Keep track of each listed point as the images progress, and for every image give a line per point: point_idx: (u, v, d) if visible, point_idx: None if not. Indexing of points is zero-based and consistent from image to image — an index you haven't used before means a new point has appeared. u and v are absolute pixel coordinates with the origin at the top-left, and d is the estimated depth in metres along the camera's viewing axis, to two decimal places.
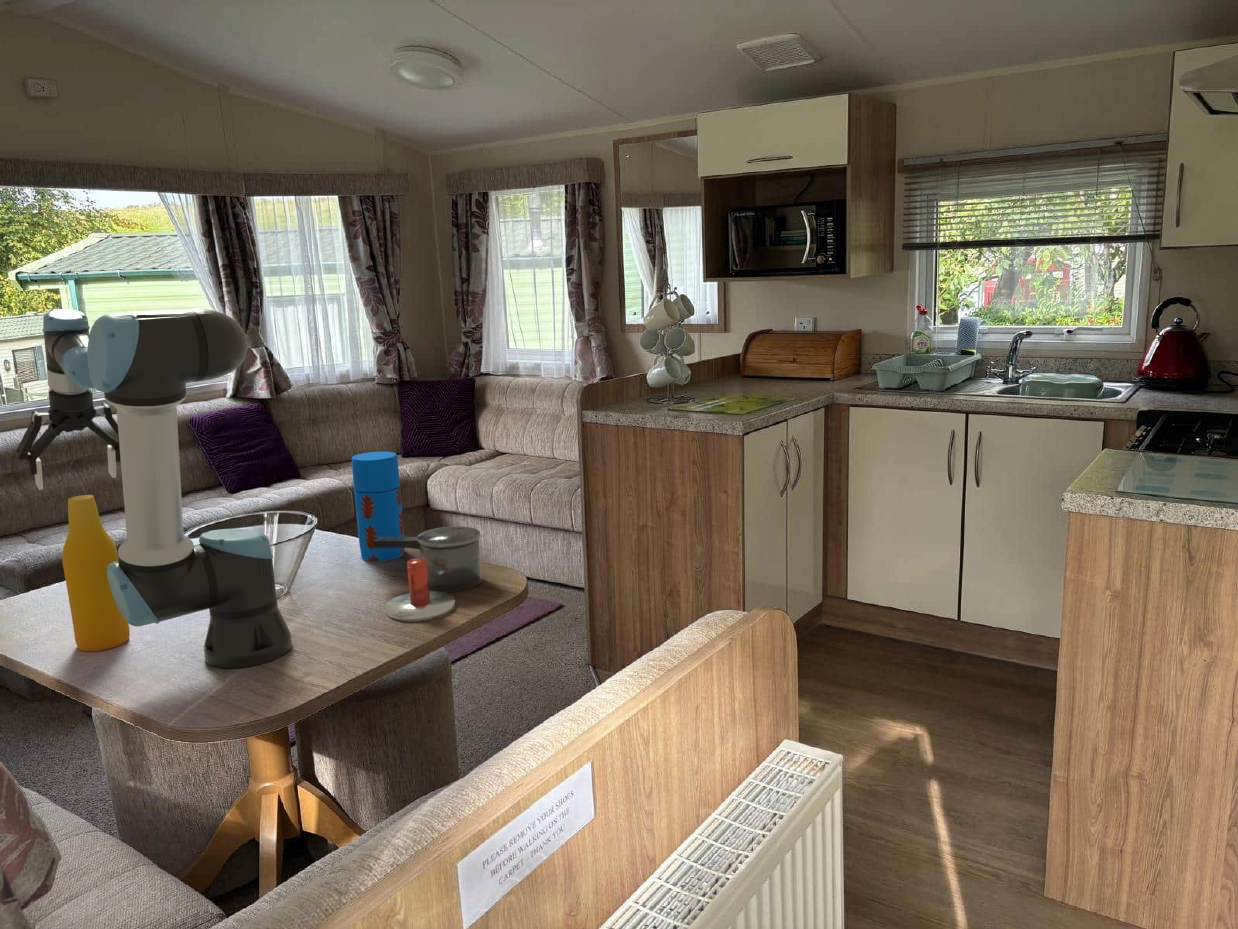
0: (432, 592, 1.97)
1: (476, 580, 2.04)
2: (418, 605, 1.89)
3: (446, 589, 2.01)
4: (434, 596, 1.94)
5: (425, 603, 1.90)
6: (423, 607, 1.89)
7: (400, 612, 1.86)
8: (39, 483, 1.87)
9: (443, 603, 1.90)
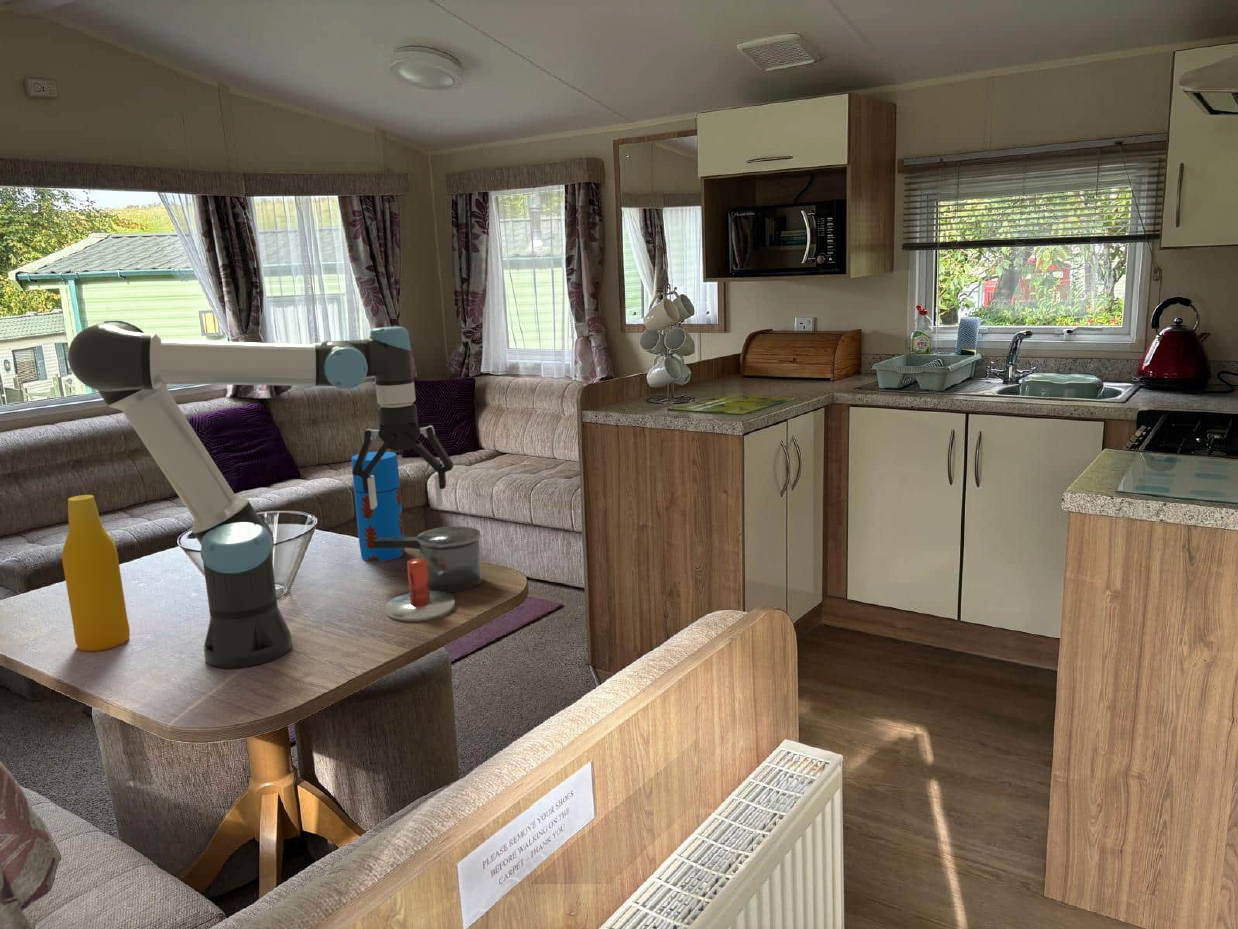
0: (432, 592, 1.97)
1: (476, 580, 2.04)
2: (418, 605, 1.89)
3: (446, 589, 2.01)
4: (434, 596, 1.94)
5: (425, 603, 1.90)
6: (423, 607, 1.89)
7: (400, 612, 1.86)
8: (370, 502, 1.89)
9: (443, 603, 1.90)
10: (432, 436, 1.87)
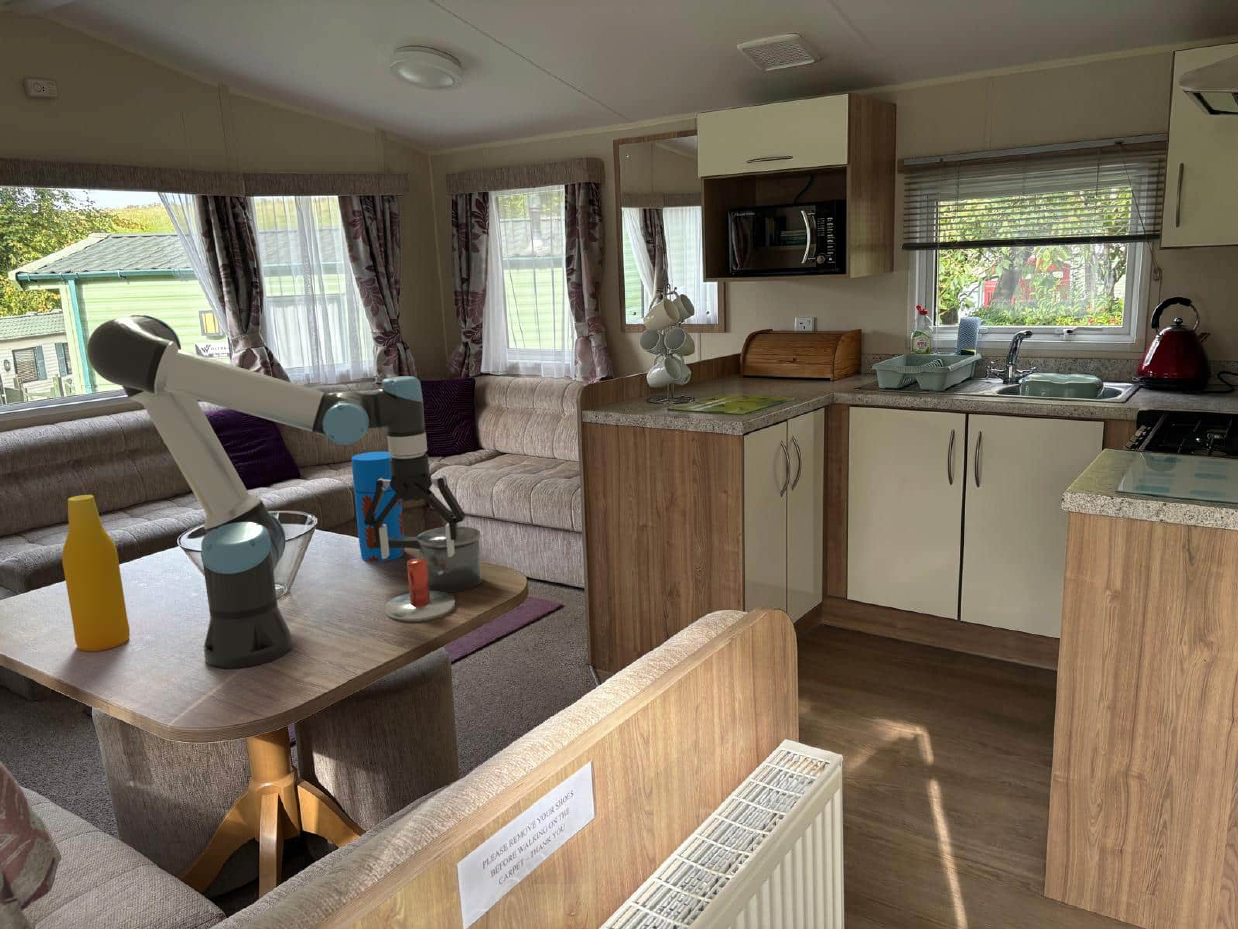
0: (432, 592, 1.97)
1: (476, 580, 2.04)
2: (418, 605, 1.89)
3: (446, 589, 2.01)
4: (434, 596, 1.94)
5: (425, 603, 1.90)
6: (423, 607, 1.89)
7: (400, 612, 1.86)
8: (382, 552, 1.88)
9: (443, 603, 1.90)
10: (443, 487, 1.85)
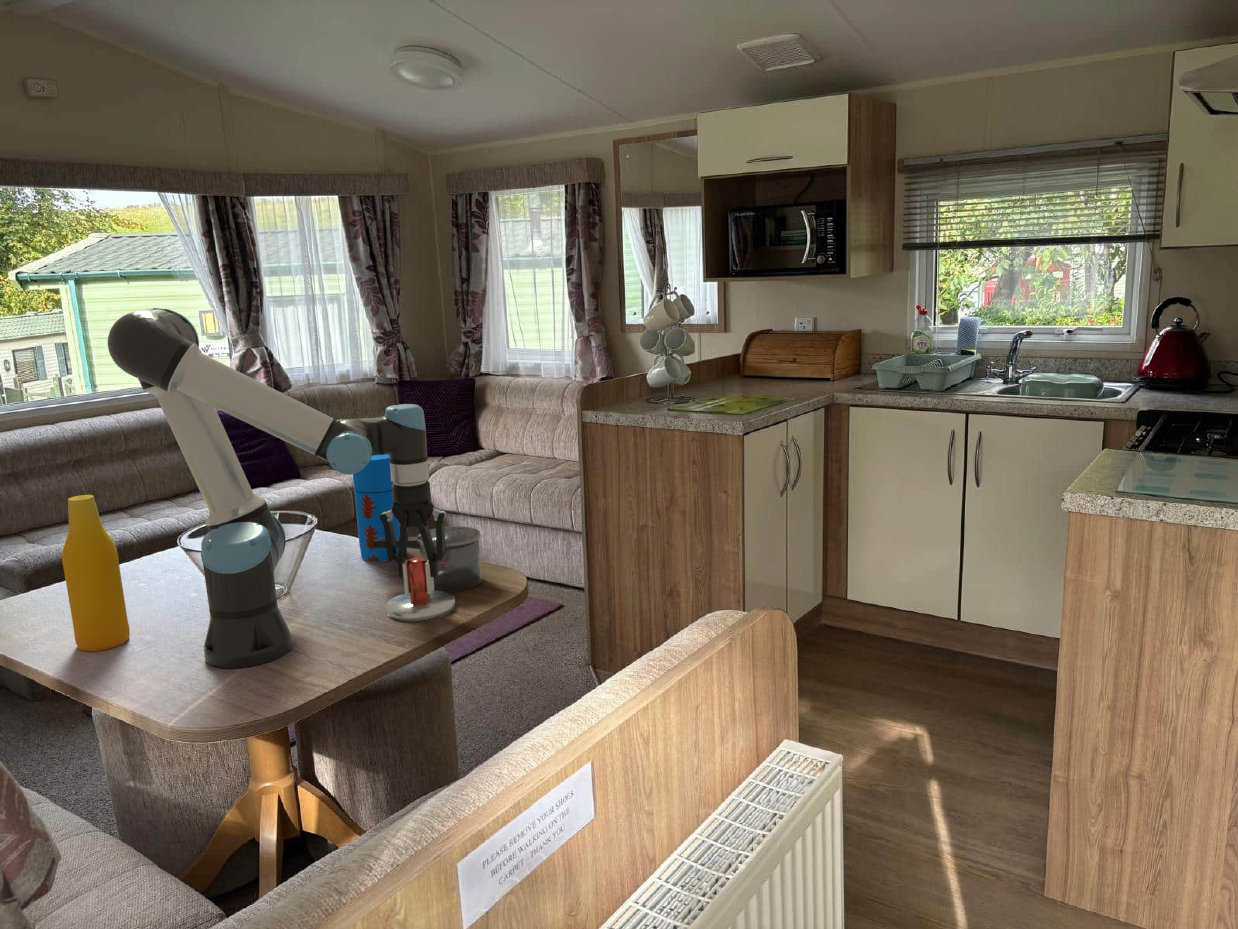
0: None
1: (476, 580, 2.04)
2: (418, 604, 1.89)
3: (446, 589, 2.01)
4: (434, 596, 1.94)
5: (425, 602, 1.90)
6: (423, 606, 1.89)
7: (400, 611, 1.86)
8: (405, 587, 1.89)
9: (443, 602, 1.90)
10: (441, 522, 1.86)
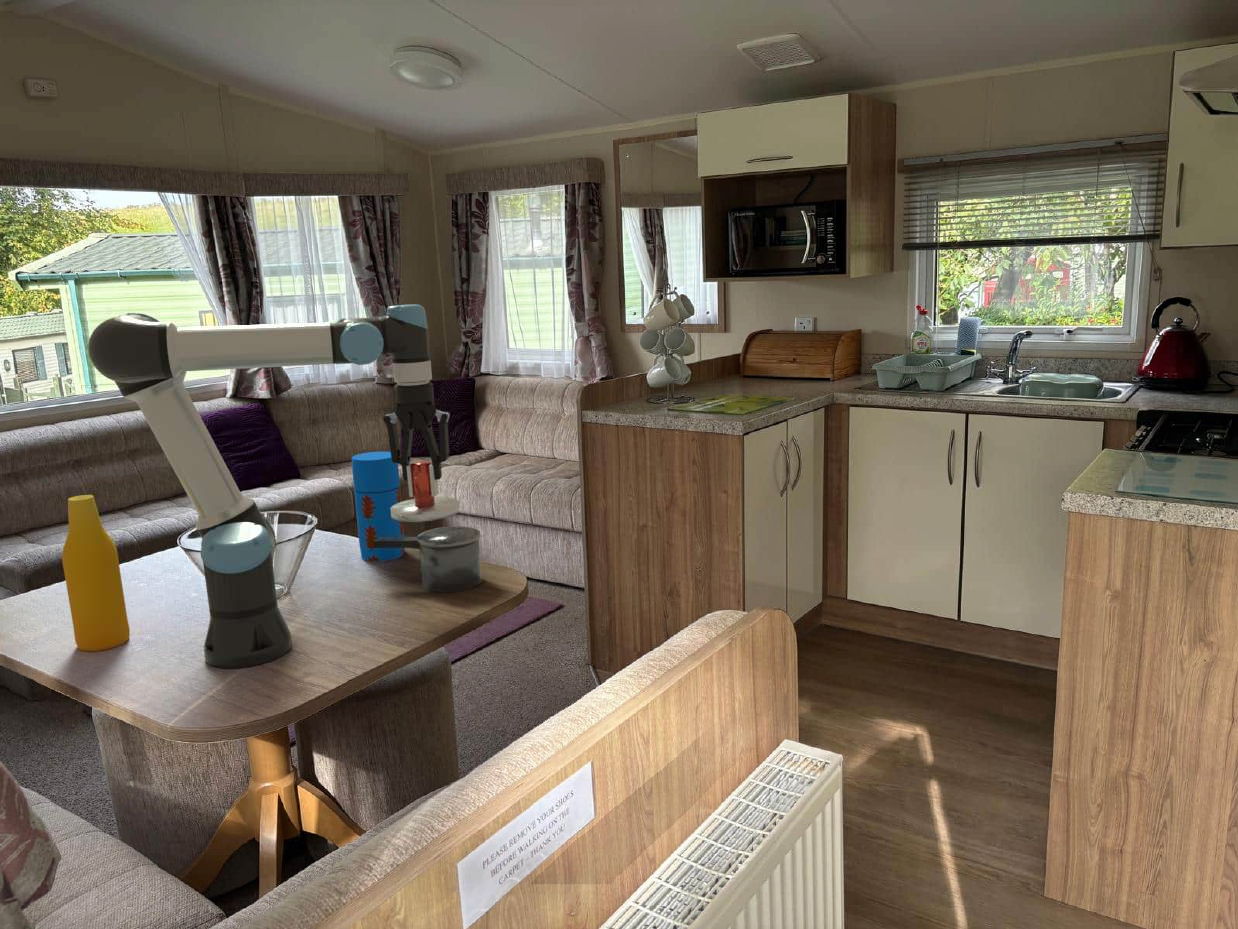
0: (437, 497, 1.97)
1: (476, 580, 2.04)
2: (422, 507, 1.89)
3: (446, 589, 2.01)
4: (439, 501, 1.94)
5: (429, 505, 1.90)
6: (427, 508, 1.89)
7: (404, 512, 1.86)
8: (409, 490, 1.90)
9: (448, 505, 1.90)
10: (444, 423, 1.86)
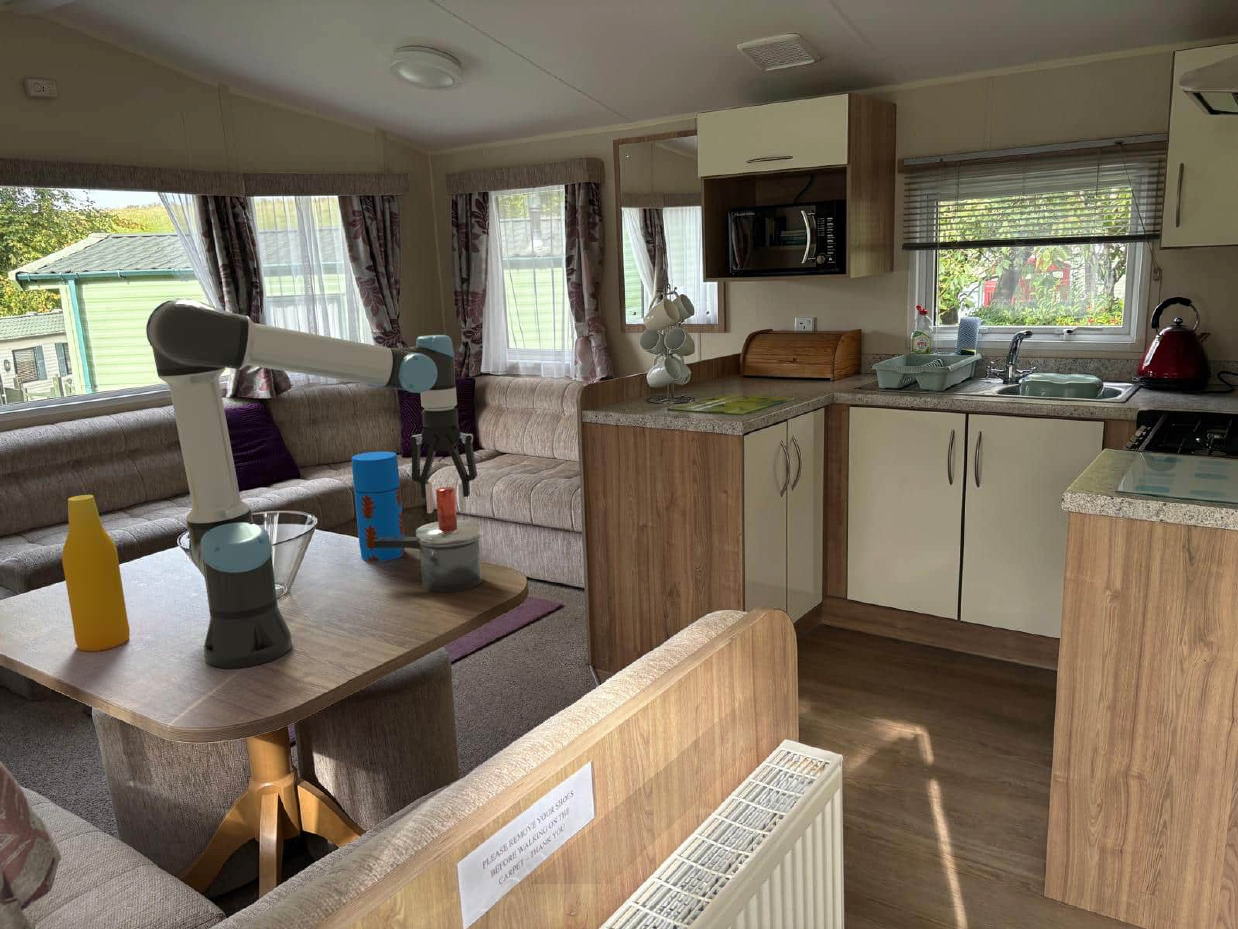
0: (458, 521, 2.10)
1: (476, 580, 2.04)
2: (446, 530, 2.02)
3: (446, 589, 2.01)
4: (460, 524, 2.07)
5: (453, 528, 2.03)
6: (451, 531, 2.02)
7: (430, 535, 1.99)
8: (427, 506, 2.02)
9: (469, 529, 2.03)
10: (469, 444, 1.99)
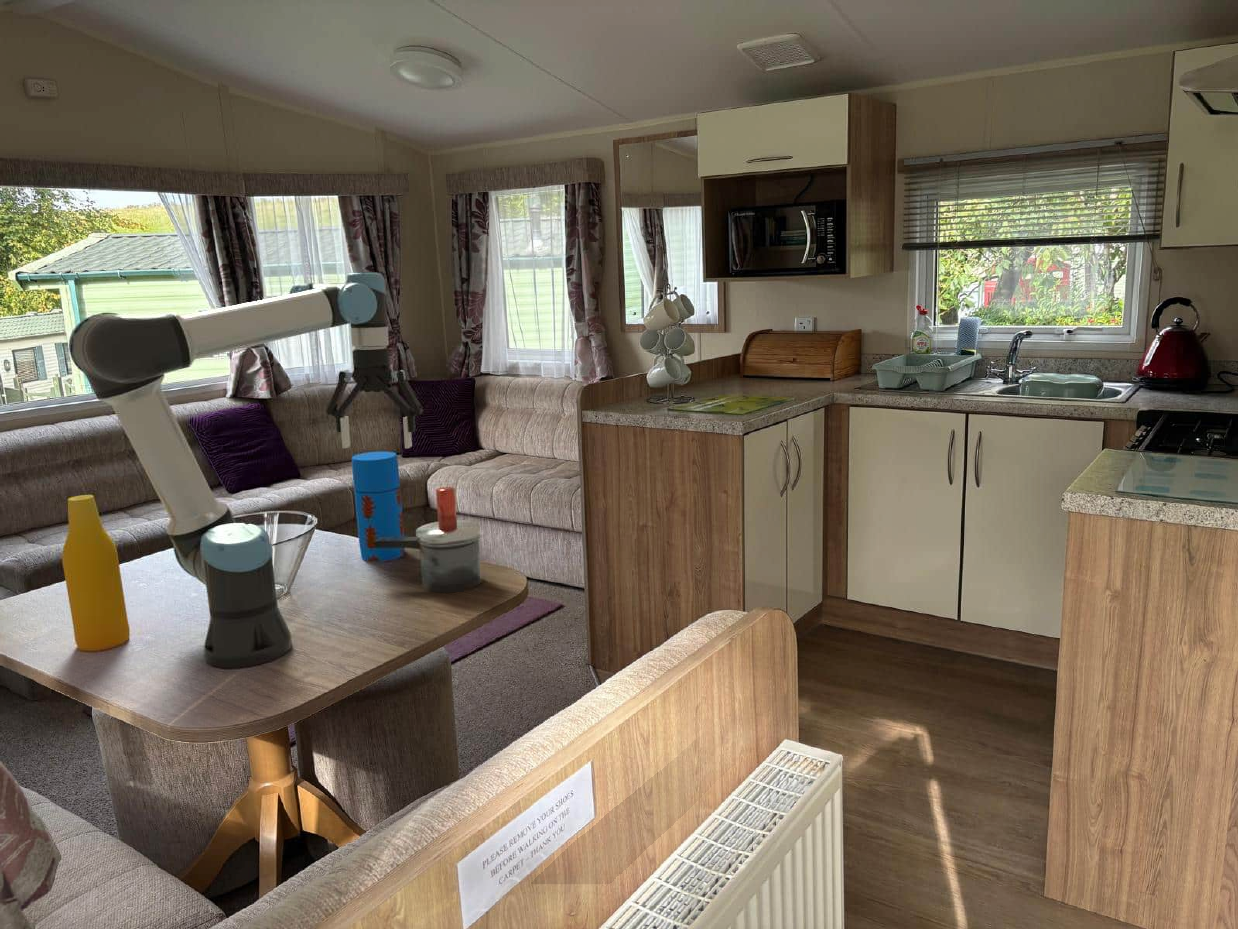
0: (458, 521, 2.10)
1: (476, 580, 2.04)
2: (446, 530, 2.02)
3: (446, 589, 2.01)
4: (460, 524, 2.07)
5: (453, 528, 2.03)
6: (451, 531, 2.02)
7: (430, 535, 1.99)
8: (342, 441, 1.97)
9: (469, 529, 2.03)
10: (402, 380, 1.94)
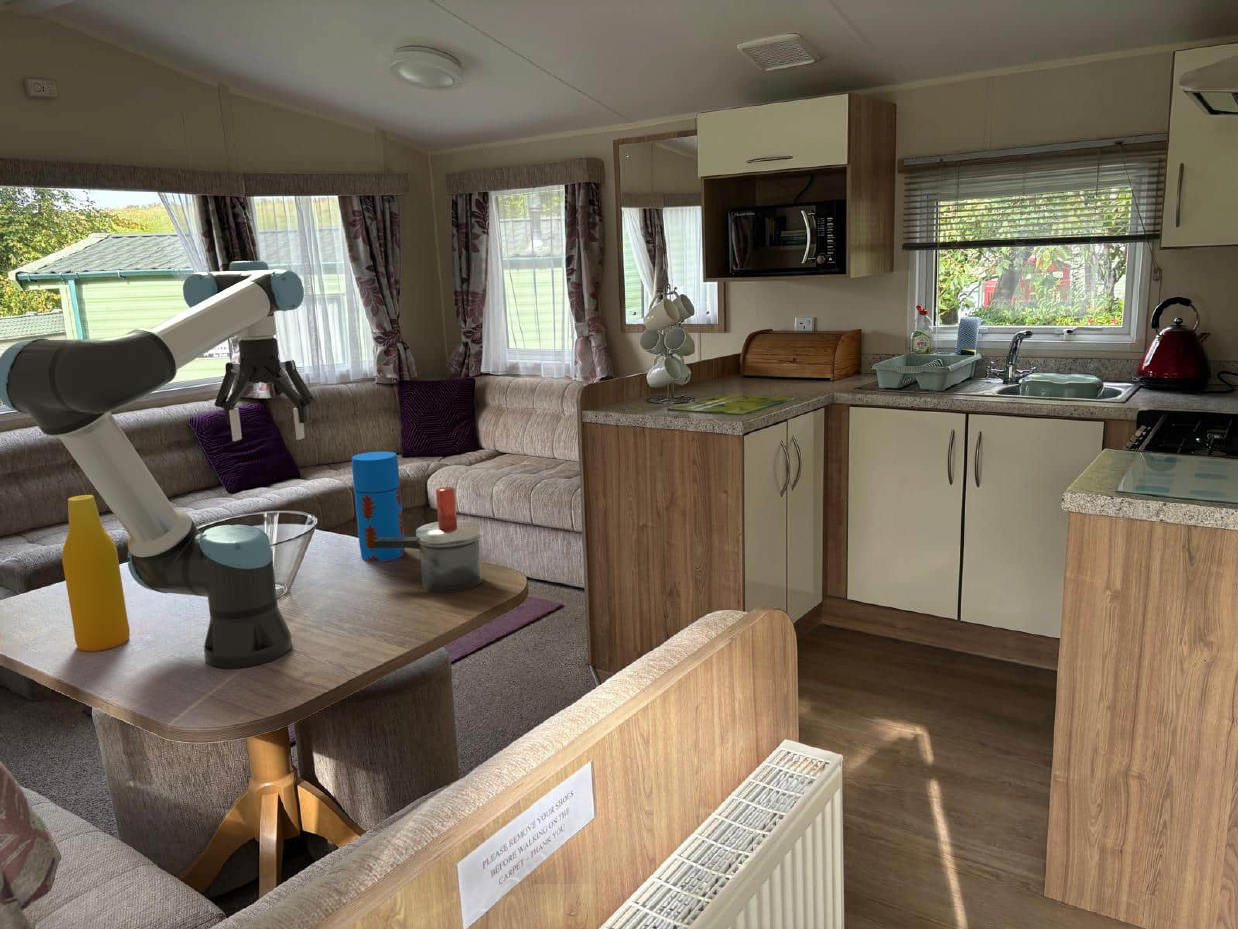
0: (458, 521, 2.10)
1: (476, 580, 2.04)
2: (446, 530, 2.02)
3: (446, 589, 2.01)
4: (460, 524, 2.07)
5: (453, 528, 2.03)
6: (451, 531, 2.02)
7: (430, 535, 1.99)
8: (232, 434, 1.93)
9: (469, 529, 2.03)
10: (290, 370, 1.90)
